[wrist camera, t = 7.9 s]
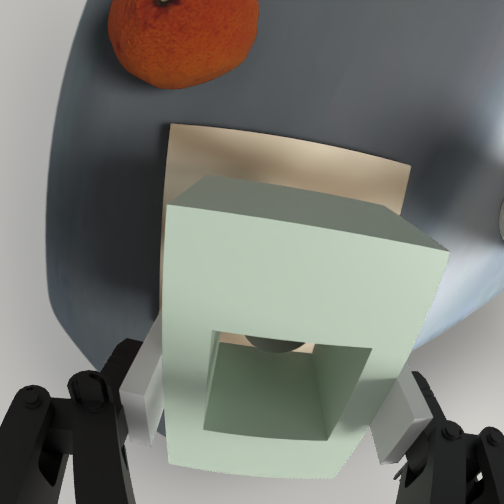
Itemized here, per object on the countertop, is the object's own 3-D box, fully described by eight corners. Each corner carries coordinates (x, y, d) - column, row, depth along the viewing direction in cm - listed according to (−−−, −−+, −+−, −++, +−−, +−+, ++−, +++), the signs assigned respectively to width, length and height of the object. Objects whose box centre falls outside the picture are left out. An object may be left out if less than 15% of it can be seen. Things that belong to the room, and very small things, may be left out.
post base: (177, 124, 20) (115, 121, 11) (402, 163, 20) (479, 188, 11) (164, 323, 26) (126, 403, 17) (348, 348, 26) (373, 432, 17)
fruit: (277, 71, 19) (284, 37, 11) (153, 111, 20) (98, 104, 12) (241, -29, 16) (229, -90, 8) (126, 12, 17) (71, -26, 9)
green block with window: (320, 397, 18) (334, 478, 12) (189, 382, 18) (168, 463, 12) (383, 205, 14) (450, 252, 8) (207, 174, 13) (167, 204, 8)
